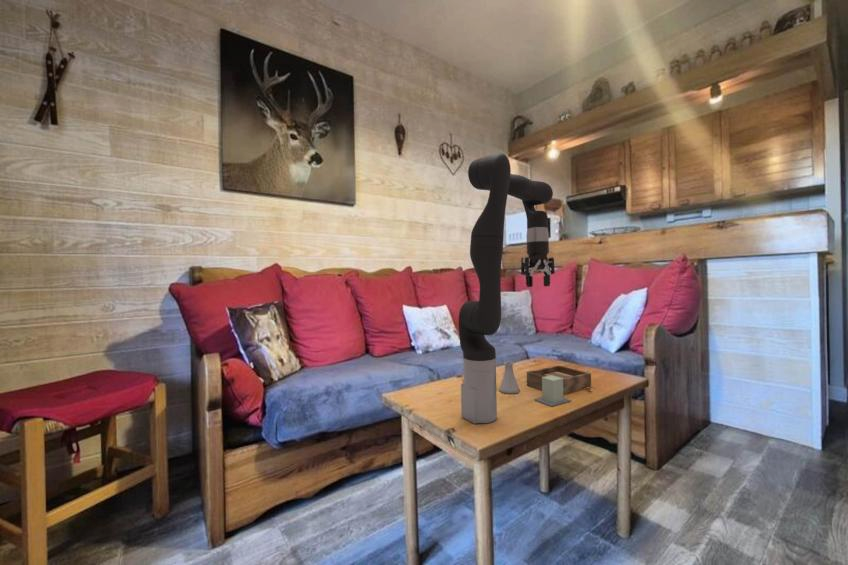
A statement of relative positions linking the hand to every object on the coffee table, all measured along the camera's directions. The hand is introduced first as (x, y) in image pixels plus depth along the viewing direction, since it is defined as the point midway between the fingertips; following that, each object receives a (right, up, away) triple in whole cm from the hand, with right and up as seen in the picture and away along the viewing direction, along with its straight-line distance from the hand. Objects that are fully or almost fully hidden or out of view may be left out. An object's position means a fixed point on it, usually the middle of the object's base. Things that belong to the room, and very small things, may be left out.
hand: (538, 286), depth 128 cm
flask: (-11, -37, -3) cm, 38 cm away
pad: (0, -36, -14) cm, 39 cm away
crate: (+8, -36, +1) cm, 37 cm away
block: (0, -36, -14) cm, 38 cm away
